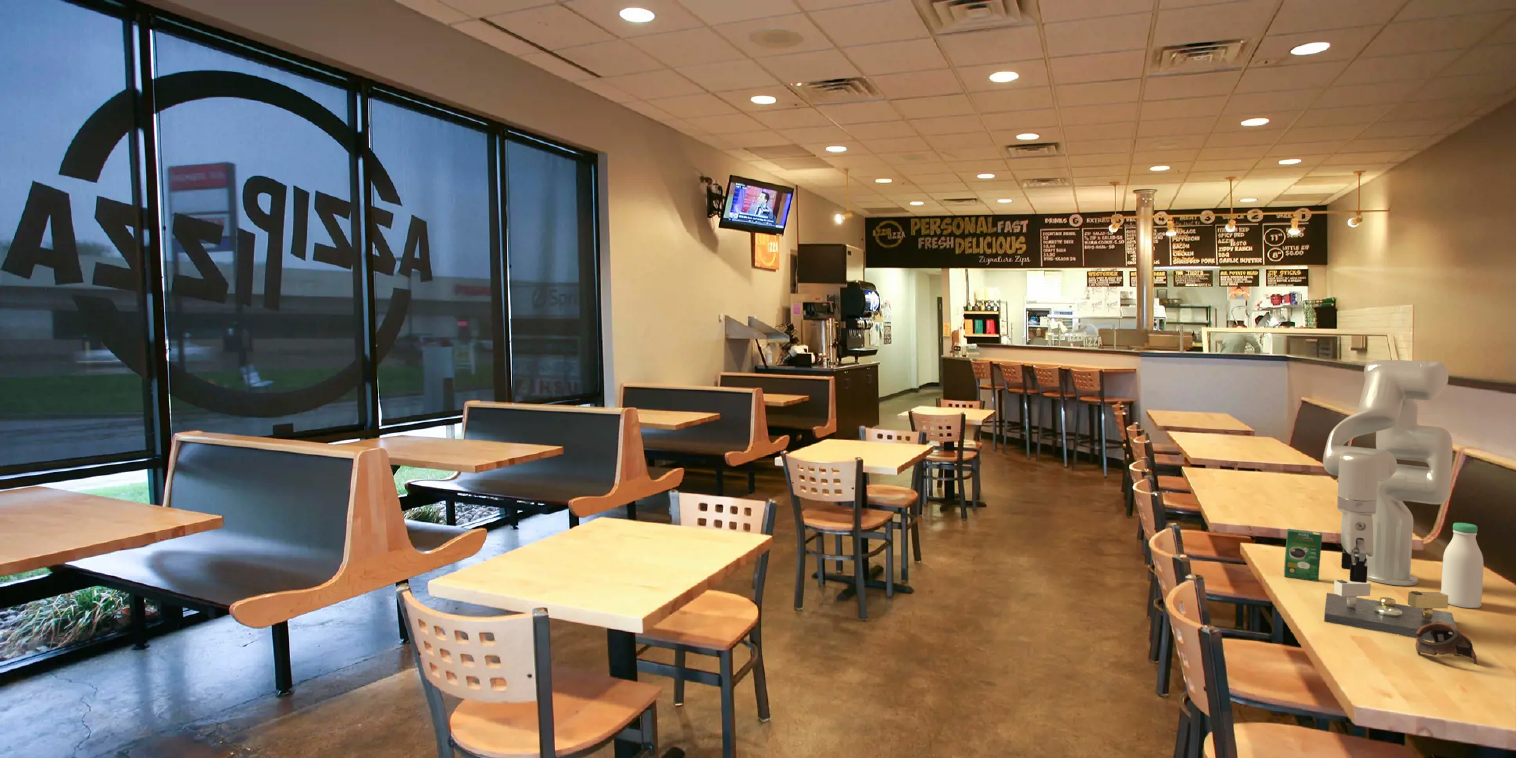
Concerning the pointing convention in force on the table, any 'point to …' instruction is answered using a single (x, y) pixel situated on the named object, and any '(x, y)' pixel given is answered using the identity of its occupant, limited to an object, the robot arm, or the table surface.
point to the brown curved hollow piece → (1444, 641)
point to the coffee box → (1302, 554)
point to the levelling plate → (1382, 615)
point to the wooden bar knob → (1427, 602)
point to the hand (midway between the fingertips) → (1353, 575)
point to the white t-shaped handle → (1351, 590)
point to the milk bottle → (1463, 568)
